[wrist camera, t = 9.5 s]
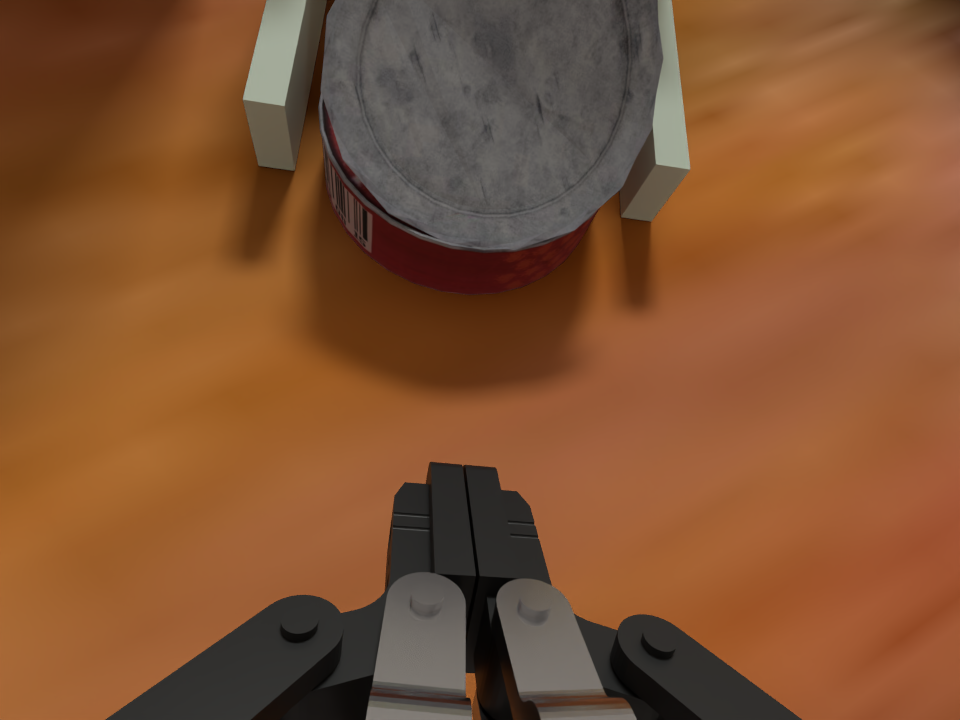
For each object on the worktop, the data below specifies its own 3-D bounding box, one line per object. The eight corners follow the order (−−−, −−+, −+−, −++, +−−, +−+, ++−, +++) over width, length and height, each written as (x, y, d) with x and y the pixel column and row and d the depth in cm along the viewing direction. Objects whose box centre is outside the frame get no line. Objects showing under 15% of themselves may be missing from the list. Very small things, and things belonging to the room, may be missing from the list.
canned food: (558, 236, 28) (761, 169, 19) (389, 356, 23) (559, 337, 15) (434, -12, 25) (610, -218, 16) (210, 67, 20) (296, -164, 12)
